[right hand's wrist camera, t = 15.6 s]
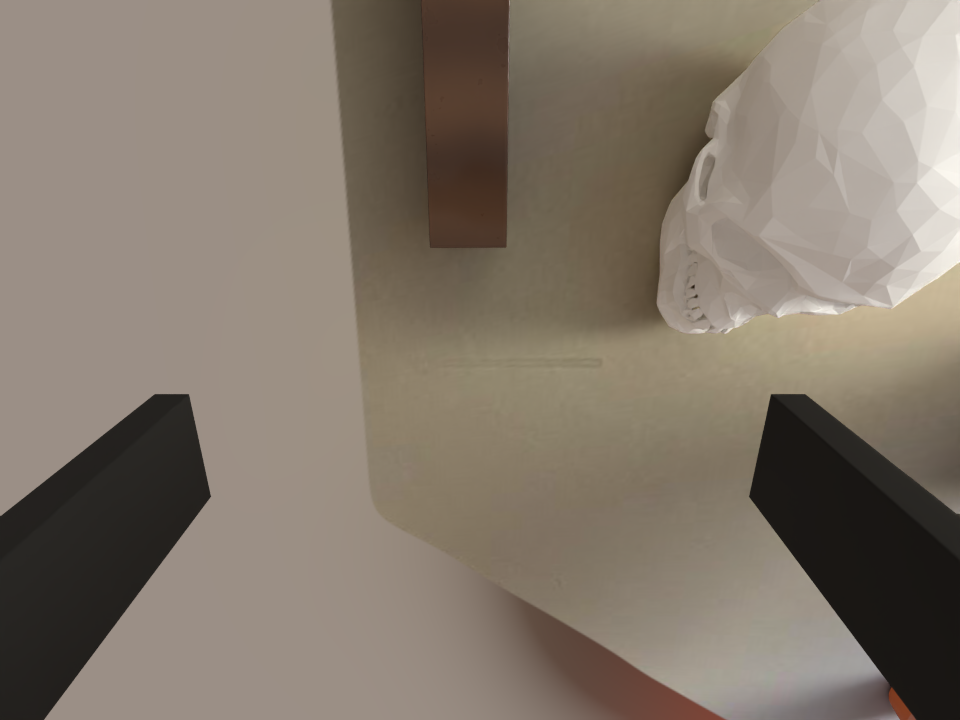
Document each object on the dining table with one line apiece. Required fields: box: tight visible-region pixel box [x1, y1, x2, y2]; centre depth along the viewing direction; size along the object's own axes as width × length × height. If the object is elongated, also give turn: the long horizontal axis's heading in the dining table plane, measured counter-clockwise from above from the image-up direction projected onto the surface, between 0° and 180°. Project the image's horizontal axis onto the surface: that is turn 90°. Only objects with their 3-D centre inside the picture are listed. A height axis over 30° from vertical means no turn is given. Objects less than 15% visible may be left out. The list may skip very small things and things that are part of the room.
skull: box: [657, 0, 960, 333], centre depth 31 cm, size 13×22×16 cm, turn 158°
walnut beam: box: [421, 0, 510, 248], centre depth 32 cm, size 22×4×7 cm, turn 0°
